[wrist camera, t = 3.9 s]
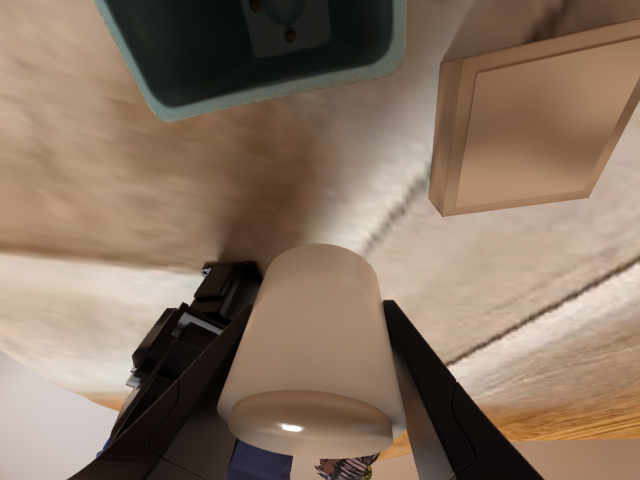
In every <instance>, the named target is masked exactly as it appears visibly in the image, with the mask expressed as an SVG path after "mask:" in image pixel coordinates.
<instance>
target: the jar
mask: <svg viewBox="0 0 640 480" xmlns="http://www.w3.org/2000/svg"><path fill="white" fill-rule="evenodd" d="M217 411H218V414H219V416H220V417H221V418H222V420H223V421H224V422H226V423H227V424H228V429H229V431H230V432H231V433H232V434H233V435H234V436H235V437H237V438H238V439H240V440H241V441H243V442H245V443H247V444H250V445H252V446H255V447H258V448H261V449H264V450H268V451H271V452H276V453H280V454H285V455H291V456H298V457H306V458H319V459H346V458H356V457H363V456H369V455H373V454H376V453H379V452H382V451H384V450H386V449H387V448H389V447H390V446H391V445H392V443H393V439H395V438H397V437H398V436H400V435H401V434H402V433H403V432H404V431H405V429H406V426H407V421H406V416H405V411H404V406H403V401H402V396H401V391H400V387H399V382H398V377H397V372H396V367H395V362H394V357H393V352H392V347H391V343H390V338H389V333H388V328H387V323H386V318H385V313H384V308H383V303H382V298H381V294H380V289H379V284H378V279H377V276H376V274H375V271H374V270H373V268H372V267H371V265H370V264H369V263H368V262H367V261H366V260H365V259H363V258H362V257H361V256H359V255H358V254H356V253H354V252H353V251H350V250H348V249H346V248H342V247H339V246H335V245H330V244H307V245H301V246H297V247H294V248H291V249H289V250H287V251H285V252H283V253H281V254H280V255H279V256H277V257H276V258H275V259H274V260H273V261H272V262H271V264H270V265H269V267H268V269H267V271H266V273H265V276H264V279H263V282H262V284H261V287H260V290H259V293H258V295H257V298H256V301H255V303H254V306H253V309H252V312H251V314H250V317H249V320H248V323H247V325H246V328H245V331H244V333H243V336H242V339H241V342H240V344H239V347H238V350H237V353H236V355H235V358H234V361H233V363H232V366H231V369H230V372H229V374H228V377H227V380H226V383H225V385H224V388H223V391H222V393H221V396H220V399H219V402H218V405H217Z"/></svg>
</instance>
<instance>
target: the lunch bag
mask: <svg viewBox="0 0 640 480" xmlns="http://www.w3.org/2000/svg"><path fill="white" fill-rule="evenodd" d="M109 442H110V438H109V439H108V441H107V442H106V444H105V446H104V447H103V450H102V451H100V452H98V453H97V455H96V458H97V457H98V456H99V455H100V454H101V453H102V452H103V451H104V450H105V449H107V448H108V447H109ZM292 460H293V456H291V455H285V454H280V453H276V452H271V451H268V450H264V449H261V448H258V447H255V446H252V445H250V444H247V443H245V442H243V441H241V440H240V441H239V443H238V446H237V448H236V451H235V453H234V456H233V459H232V461H231V464H230V467H229V469H228V472H227V474H226V477H225V480H290V472H291V467H292Z"/></svg>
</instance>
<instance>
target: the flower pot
mask: <svg viewBox="0 0 640 480" xmlns="http://www.w3.org/2000/svg"><path fill="white" fill-rule="evenodd" d="M251 1H252V0H94V2H95V4H96V6H97V8H98V10H99V12H100V15H101V16H102V18H103V20H104V23H105V25H106V27H107V29H108V30H109V32H110V34H111V36H112V37H113V39H114V41H115V43H116V46H117V48H118V50H119V51H120V53H121V55H122V57H123V59H124V61H125V63H126V64H127V67H128V69H129V71H130V73H131V75H132V76H133V78H134V81H135V82H136V84H137V86H138V88H139V90H140V92H141V94H142V96H143V98H144V99H145V101H146V102H147V104H148V106H149V107H150V108H151V110H152V111H153V113H154V114H155V115H156V116H157V117H158V118H159V119H160V120H161V121H164V122H174V121H179V120H184V119H187V118H191V117H195V116H199V115H203V114H208V113H212V112H217V111H221V110H224V109H229V108H233V107H238V106H242V105H247V104H251V103H256V102H260V101H265V100H269V99H275V98H280V97H284V96H289V95H294V94H298V93H304V92H309V91H313V90H318V89H324V88H329V87H333V86H340V85H345V84H350V83H356V82H360V81H367V80H375V79H378V78H383V77H386V76H389V75H391V74H392V73H394V72H395V71H397V70H398V69H399V68H400V67H401V66H402V63H403V61H404V58H405V54H406V40H407V0H259V2H260V9H259V11H257V12H255V11H253V10H252V7H251ZM289 30H292V31H293V32H294V33H295V40H294V41H293V42H289V41H288V40H287V38H286V35H287V32H288V31H289Z"/></svg>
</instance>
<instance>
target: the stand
mask: <svg viewBox="0 0 640 480" xmlns="http://www.w3.org/2000/svg"><path fill="white" fill-rule="evenodd" d="M639 100H640V18H639V19H634V20H629V21H624V22H619V23H614V24H610V25H606V26H601V27H597V28H593V29H588V30H584V31H580V32H575V33H571V34H567V35H562V36H558V37H554V38H549V39H545V40H541V41H536V42H532V43H527V44H523V45H519V46H514V47H510V48H506V49H501V50H497V51H493V52H488V53H484V54H480V55H475V56H471V57H467V58H462V59H458V60H454V61H449V62H445V63H441V64H440V74H439V86H438V97H437V109H436V120H435V131H434V143H433V154H432V166H431V177H430V188H429V200H430V201H431V203H432V204H433V205H434V206H435V208H436V209H437V210H438V212H439V213H440V214H441V215H442V217H445V216H452V215H460V214H468V213H476V212H483V211H491V210H499V209H506V208H514V207H522V206H530V205H537V204H545V203H553V202H560V201H568V200H576V199H584V198H589V196H590V194H591V192H592V190H593V188H594V186H595V184H596V183H597V181H598V179H599V177H600V175H601V173H602V171H603V169H604V167H605V165H606V163H607V161H608V160H609V158H610V156H611V154H612V152H613V150H614V148H615V146H616V144H617V142H618V140H619V139H620V137H621V135H622V133H623V131H624V129H625V127H626V125H627V123H628V121H629V119H630V118H631V116H632V114H633V112H634V110H635V108H636V106H637V104H638V102H639Z"/></svg>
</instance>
